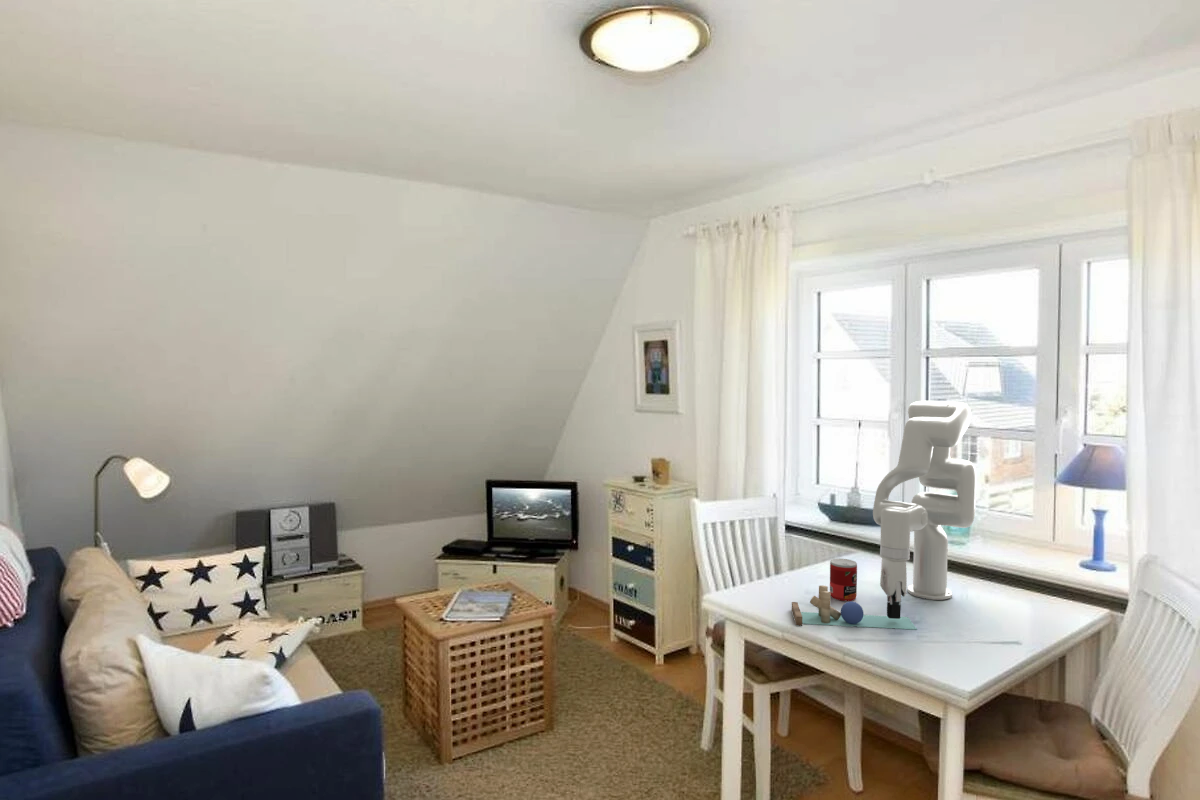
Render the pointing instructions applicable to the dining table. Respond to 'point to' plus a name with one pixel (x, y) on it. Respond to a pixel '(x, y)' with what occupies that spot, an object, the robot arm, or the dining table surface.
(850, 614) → the ball
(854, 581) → the canned food
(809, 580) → the dining table surface
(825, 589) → the pin
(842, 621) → the panel
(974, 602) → the dining table surface
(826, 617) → the pin
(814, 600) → the pin front
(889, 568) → the robot arm
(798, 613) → the block
